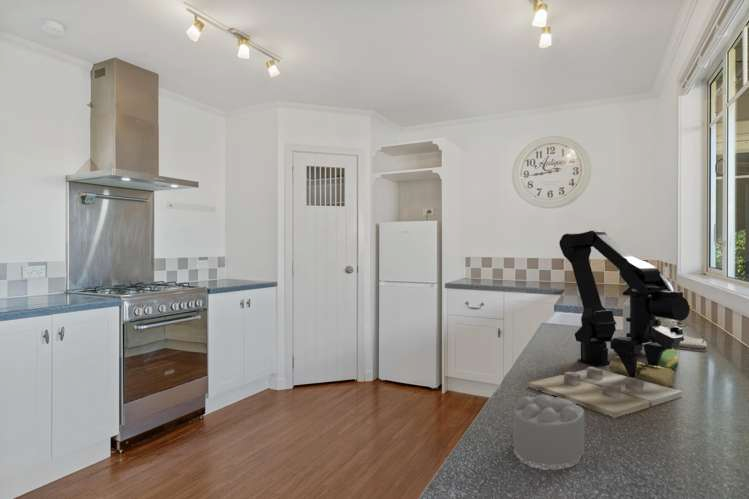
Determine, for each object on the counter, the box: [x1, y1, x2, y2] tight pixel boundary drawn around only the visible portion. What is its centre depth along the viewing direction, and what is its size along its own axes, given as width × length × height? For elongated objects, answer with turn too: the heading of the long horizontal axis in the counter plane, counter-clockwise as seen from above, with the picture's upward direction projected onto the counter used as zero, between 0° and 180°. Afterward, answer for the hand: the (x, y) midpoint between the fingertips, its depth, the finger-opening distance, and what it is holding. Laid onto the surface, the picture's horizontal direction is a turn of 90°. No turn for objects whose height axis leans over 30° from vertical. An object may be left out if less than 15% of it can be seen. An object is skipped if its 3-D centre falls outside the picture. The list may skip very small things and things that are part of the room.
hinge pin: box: [609, 356, 676, 388], centre depth 112 cm, size 14×4×4 cm, turn 28°
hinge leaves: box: [528, 366, 683, 419], centre depth 103 cm, size 22×25×4 cm
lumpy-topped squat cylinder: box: [512, 393, 585, 464], centre depth 74 cm, size 10×13×9 cm
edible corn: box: [658, 348, 680, 370], centre depth 122 cm, size 5×20×5 cm
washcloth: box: [674, 335, 709, 353], centre depth 149 cm, size 12×18×3 cm, turn 54°
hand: (642, 374), depth 113 cm, fingers open, 9 cm apart
